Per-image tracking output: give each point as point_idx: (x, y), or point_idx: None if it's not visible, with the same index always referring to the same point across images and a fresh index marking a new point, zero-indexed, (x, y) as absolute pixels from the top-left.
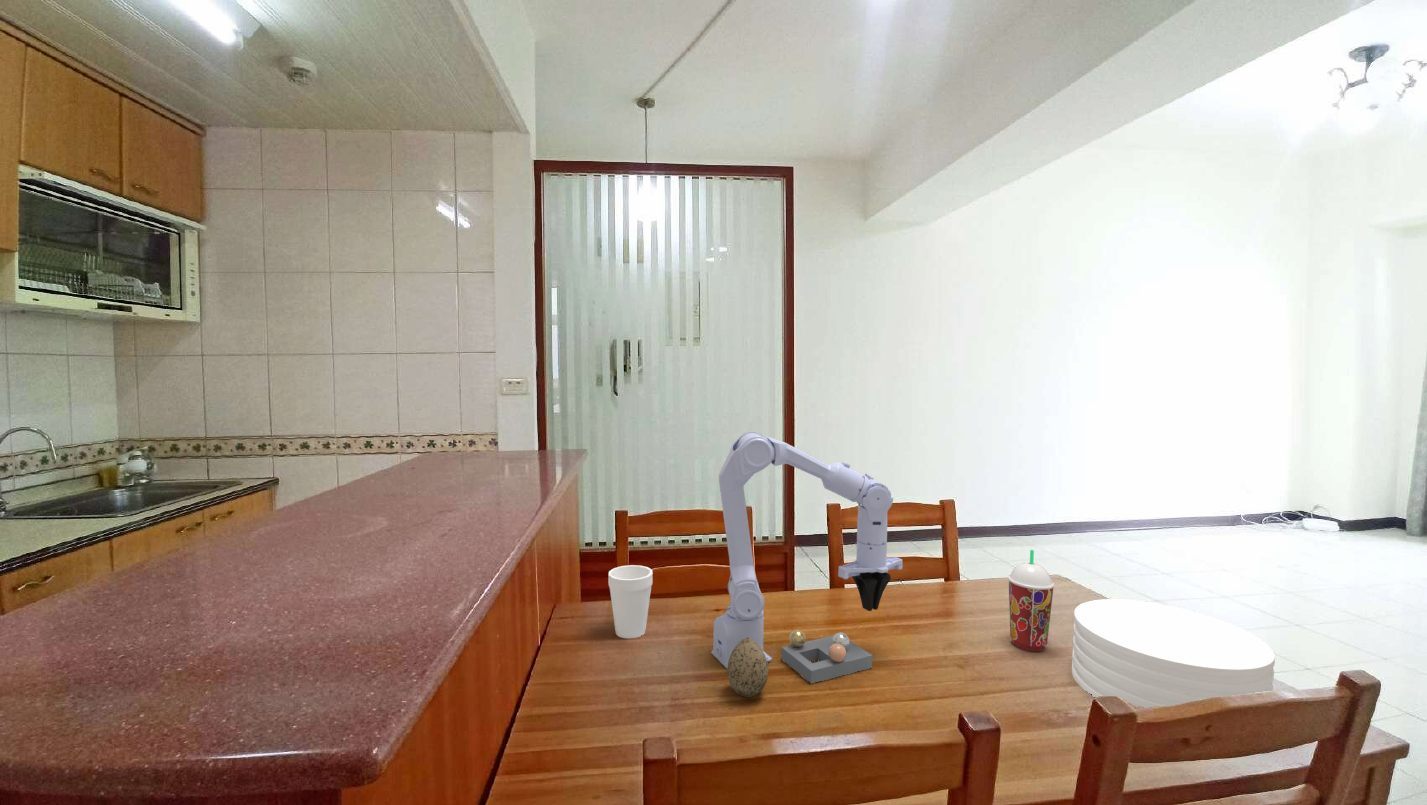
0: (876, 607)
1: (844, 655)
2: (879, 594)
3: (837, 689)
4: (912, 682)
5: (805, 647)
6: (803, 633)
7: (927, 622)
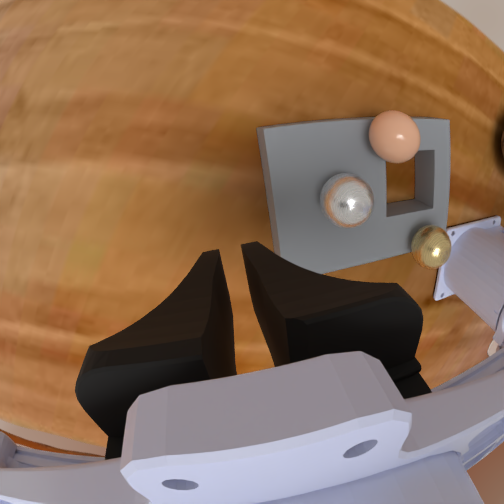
0: (212, 252)
1: (387, 111)
2: (202, 283)
3: (391, 74)
4: (187, 35)
5: (408, 228)
6: (432, 247)
7: (15, 324)
